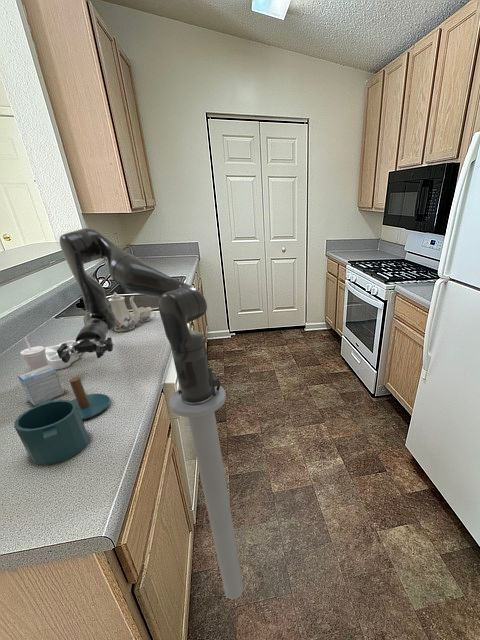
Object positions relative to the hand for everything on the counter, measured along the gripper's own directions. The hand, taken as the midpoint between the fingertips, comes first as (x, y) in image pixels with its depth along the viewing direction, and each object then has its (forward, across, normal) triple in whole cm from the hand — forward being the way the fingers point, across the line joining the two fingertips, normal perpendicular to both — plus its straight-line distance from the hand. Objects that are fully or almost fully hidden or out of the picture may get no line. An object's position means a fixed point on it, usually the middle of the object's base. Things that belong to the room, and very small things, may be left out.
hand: (81, 357), depth 96 cm
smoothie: (-15, -17, +11) cm, 25 cm away
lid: (+11, 0, +10) cm, 15 cm away
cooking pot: (+27, -2, +11) cm, 29 cm away
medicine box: (0, -12, +11) cm, 16 cm away
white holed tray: (-28, -15, +11) cm, 34 cm away
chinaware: (-56, +4, +11) cm, 57 cm away
